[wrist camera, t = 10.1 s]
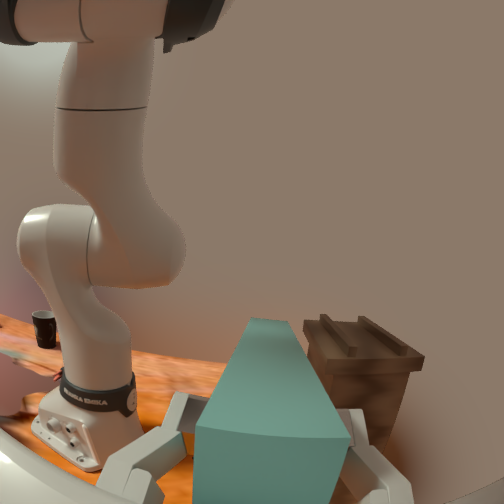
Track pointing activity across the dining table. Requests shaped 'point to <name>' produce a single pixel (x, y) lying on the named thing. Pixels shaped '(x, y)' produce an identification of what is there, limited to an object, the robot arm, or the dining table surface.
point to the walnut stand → (361, 375)
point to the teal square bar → (268, 427)
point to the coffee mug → (45, 328)
